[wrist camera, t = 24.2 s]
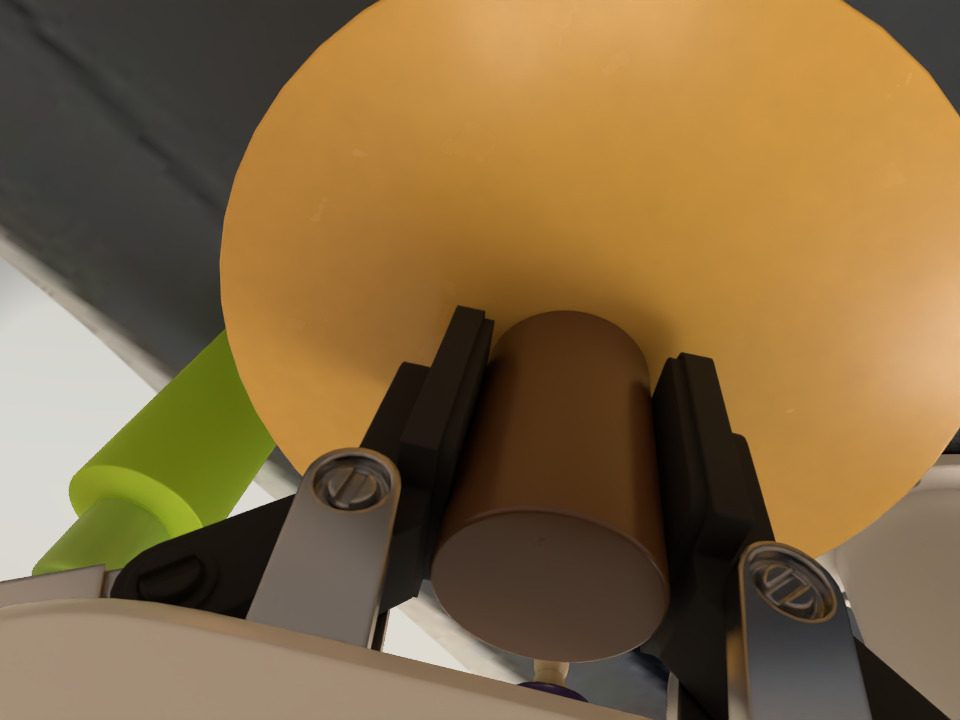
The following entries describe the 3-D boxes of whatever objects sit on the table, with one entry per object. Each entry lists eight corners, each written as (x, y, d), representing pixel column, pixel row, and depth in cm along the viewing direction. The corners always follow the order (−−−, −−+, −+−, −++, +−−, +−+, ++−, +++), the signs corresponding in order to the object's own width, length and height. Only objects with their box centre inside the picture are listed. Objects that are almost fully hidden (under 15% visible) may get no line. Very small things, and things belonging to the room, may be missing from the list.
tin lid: (1171, -55, 8) (2114, -70, 3) (817, 607, 16) (912, 904, 11) (169, -72, 10) (-276, -98, 5) (299, 527, 18) (180, 750, 13)
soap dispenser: (248, 272, 33) (-106, 584, 17) (346, 355, 35) (115, 708, 19) (199, 332, 36) (-144, 648, 20) (292, 406, 38) (50, 749, 22)
